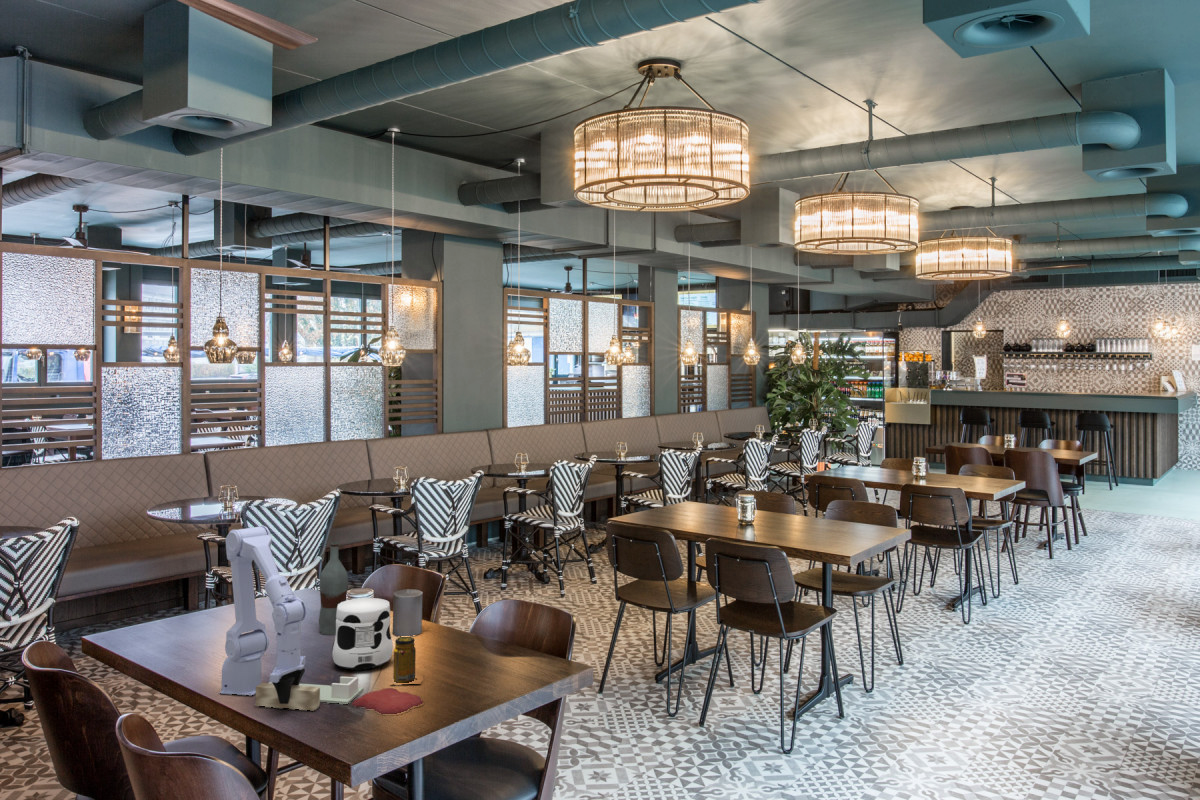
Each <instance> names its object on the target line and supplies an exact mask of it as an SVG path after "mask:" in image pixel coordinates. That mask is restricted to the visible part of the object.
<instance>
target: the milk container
mask: <svg viewBox="0 0 1200 800" xmlns="http://www.w3.org/2000/svg"><path fill="white" fill-rule="evenodd" d="M390 615H391V605H390V601H388V600H386V599H382V598H378V597H377V598H375V597H362V598H359V597H358V598H353V599H346V601H344V602H341V603H339V604H338V606H337V613H336V635H334V640H333V643H332V644H333V645H332V648H331V651H332V659H333V662H334V664H335V665H336V666H338V667H339V668H342V669H345V670H346V669H347V670H353V671H358V670H361V671H363V670H370V669H375V668H377V667H382V666H383V665H385V664H386V663H388V662H389V661H390V660H391V657H392V655H393V650H394V649H393V648H394V647H393V639H392V635H391V630H390V629H391V627H390V626H391V616H390Z"/></svg>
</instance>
